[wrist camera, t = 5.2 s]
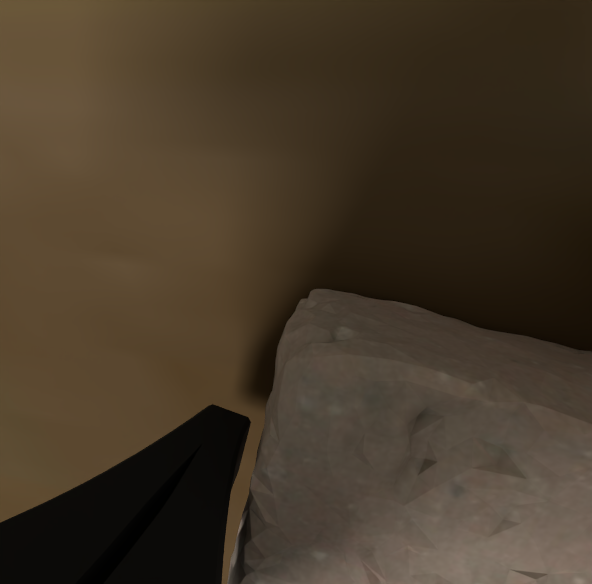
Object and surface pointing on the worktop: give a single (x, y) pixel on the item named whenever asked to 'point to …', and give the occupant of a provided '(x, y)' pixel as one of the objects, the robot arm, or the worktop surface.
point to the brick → (418, 453)
